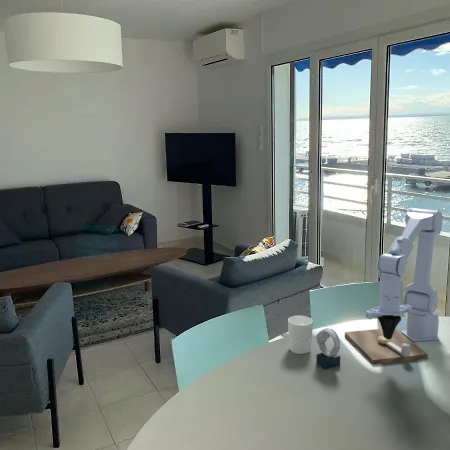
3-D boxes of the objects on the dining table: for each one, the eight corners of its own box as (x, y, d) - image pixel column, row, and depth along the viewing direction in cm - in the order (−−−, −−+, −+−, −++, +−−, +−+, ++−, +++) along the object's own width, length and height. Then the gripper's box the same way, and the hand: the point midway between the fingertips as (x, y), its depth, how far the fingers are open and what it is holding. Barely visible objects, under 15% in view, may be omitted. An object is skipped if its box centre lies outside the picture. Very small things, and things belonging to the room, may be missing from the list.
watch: (326, 356, 147) (327, 323, 144) (344, 367, 140) (345, 333, 137) (312, 360, 144) (312, 327, 142) (329, 372, 137) (330, 337, 135)
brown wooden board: (393, 331, 164) (393, 327, 163) (427, 358, 144) (427, 353, 144) (344, 336, 160) (344, 331, 160) (372, 364, 141) (373, 359, 141)
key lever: (375, 339, 153) (375, 330, 153) (385, 337, 154) (386, 328, 154) (402, 358, 141) (402, 347, 140) (413, 355, 142) (414, 345, 142)
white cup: (285, 353, 149) (285, 323, 147) (289, 342, 156) (290, 314, 154) (310, 356, 147) (311, 326, 145) (313, 345, 154) (314, 316, 152)
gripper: (376, 302, 131) (374, 347, 134) (420, 295, 135) (417, 339, 138) (362, 293, 138) (360, 337, 141) (404, 288, 142) (401, 330, 145)
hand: (387, 337), depth 140 cm, fingers closed
